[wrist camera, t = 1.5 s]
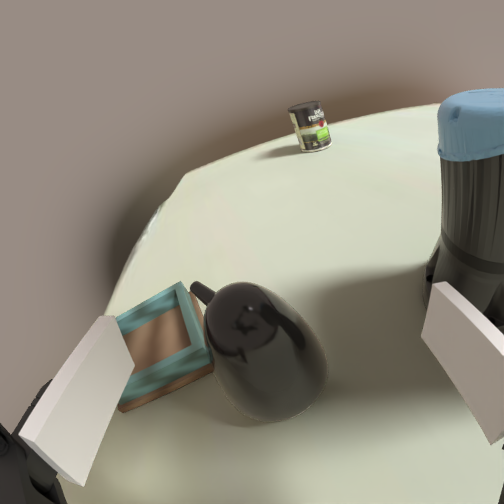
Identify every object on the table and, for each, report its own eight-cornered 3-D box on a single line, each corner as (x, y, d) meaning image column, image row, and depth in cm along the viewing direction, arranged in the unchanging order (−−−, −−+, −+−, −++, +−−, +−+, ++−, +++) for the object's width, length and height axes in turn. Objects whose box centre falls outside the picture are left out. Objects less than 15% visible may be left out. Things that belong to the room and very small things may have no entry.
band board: (194, 294, 46) (183, 277, 44) (223, 365, 33) (208, 348, 30) (117, 337, 44) (103, 322, 41) (122, 412, 30) (103, 399, 28)
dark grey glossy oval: (277, 336, 34) (227, 237, 25) (351, 370, 26) (330, 261, 18) (221, 399, 29) (140, 316, 20) (293, 449, 22) (225, 389, 13)
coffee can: (338, 141, 81) (327, 99, 73) (317, 153, 78) (303, 108, 70) (316, 140, 89) (303, 101, 81) (294, 151, 86) (280, 110, 78)
